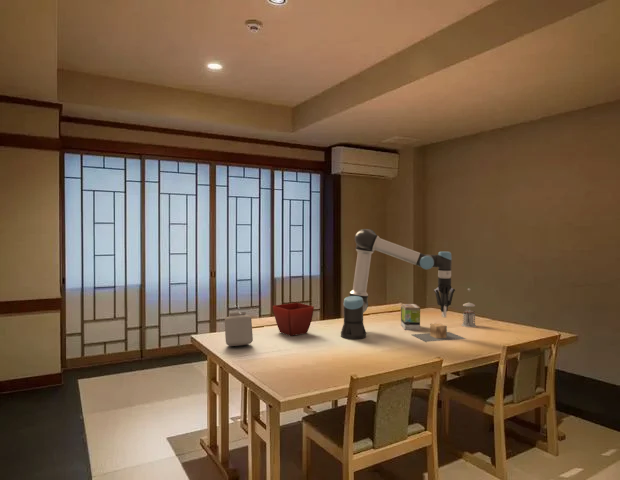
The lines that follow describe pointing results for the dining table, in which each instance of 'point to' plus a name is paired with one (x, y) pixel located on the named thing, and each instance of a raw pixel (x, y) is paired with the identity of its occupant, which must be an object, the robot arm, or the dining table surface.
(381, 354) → the dining table surface
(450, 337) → the slate mat
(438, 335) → the wooden block
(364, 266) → the robot arm
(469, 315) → the french press
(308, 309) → the plant pot
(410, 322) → the tea box
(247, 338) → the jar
